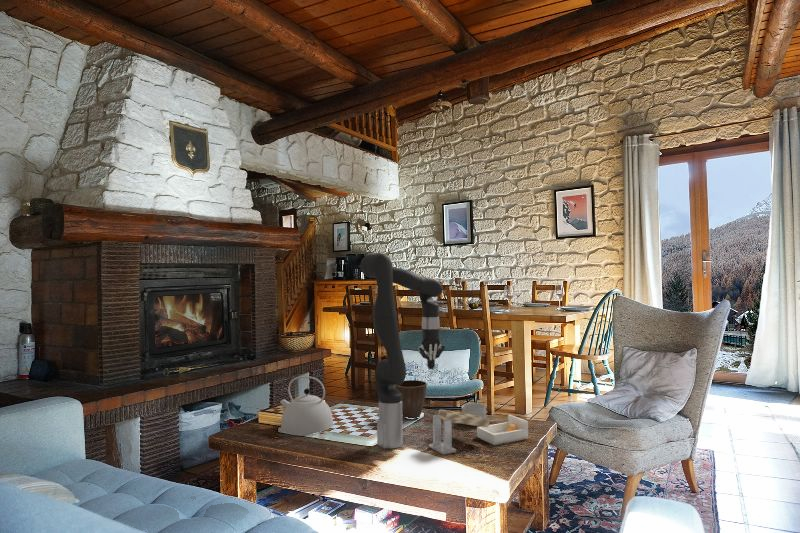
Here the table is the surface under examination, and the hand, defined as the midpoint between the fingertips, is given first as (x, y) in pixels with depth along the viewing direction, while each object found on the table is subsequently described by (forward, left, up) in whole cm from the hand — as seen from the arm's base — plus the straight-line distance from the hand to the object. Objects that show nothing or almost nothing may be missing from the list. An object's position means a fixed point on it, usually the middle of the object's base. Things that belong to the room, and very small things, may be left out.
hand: (431, 368), depth 219 cm
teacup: (+24, +4, -27) cm, 36 cm away
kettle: (-45, +34, -27) cm, 63 cm away
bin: (+22, -20, -27) cm, 40 cm away
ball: (+26, -20, -24) cm, 41 cm away
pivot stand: (-7, -20, -27) cm, 34 cm away
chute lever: (+3, -15, -18) cm, 24 cm away
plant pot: (+3, +24, -27) cm, 36 cm away
